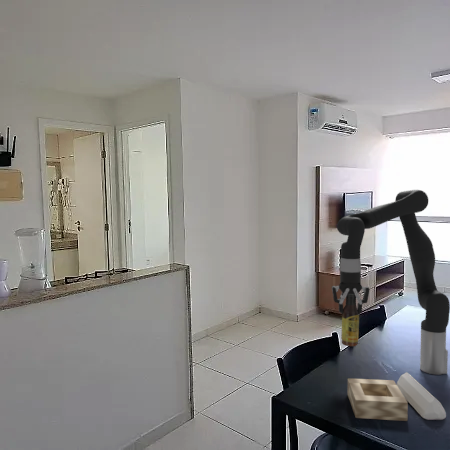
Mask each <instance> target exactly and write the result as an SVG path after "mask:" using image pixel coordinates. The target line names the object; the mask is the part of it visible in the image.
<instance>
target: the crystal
mask: <svg viewBox="0 0 450 450" xmlns="http://www.w3.org/2000/svg"><path fill="white" fill-rule="evenodd" d="M396 385H397V386H398V388H399V390H400V391H401V393H402V394H403V396H404V398H405V399H406V401H407V402H408V403H409V404H410V405H411V406H412V408H414V410H415V411H416V413H418V414H419V415H420V416H421V417H422V419H425V420H427V421H432V420H433V421H435V420H436V421H442V420H445V419H446V418H447V413H446V409H445V408H444V407H443V405H442V403H441V402H440V401H439V400H438V399H437V398H436V397H435V396H433V395H432V393H430V392H429V391H428V390H427V389H426V388H425V387H424V386H423V385H422V384H421V383H420V382H418V380H416V379H415V377H413V376H412V375H411V374H410V373H409V372H407V371H406V372H405V373H403V374H401V375H400V377H399V378H398V380H397V382H396Z"/></svg>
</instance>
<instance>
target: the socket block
mask: <svg viewBox="0 0 450 450" xmlns="http://www.w3.org/2000/svg"><path fill="white" fill-rule="evenodd" d="M347 398H348V399H349V403H350V405H351V408H352V411H353V414H354V416H355V418H356V419H366V420H367V419H368V420H369V419H371V420H385V421H386V420H387V421H398V422H399V421H400V422H401V421H403V422H408V417H409V416H408V414H409V412H408V409H409V408H408V405H409V404H408V403H409V402H408V401H407V400H406V399H405V398H404V396H403V394H402V393H401V391H400V390H399V388H398V386H397V382H395V380H394V379H388V380H387V379H371V378H370V379H367V378H347Z"/></svg>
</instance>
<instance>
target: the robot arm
mask: <svg viewBox="0 0 450 450" xmlns="http://www.w3.org/2000/svg"><path fill="white" fill-rule="evenodd" d="M428 205H429V197H428V194H427V193H426V192H425V191H424V190H420V189H411V190H404V191H399V192H398V193H397V194H396V197H395V200H394V201H392V202H388V203H384V204H381V205H377V206H374V207H371V208H369V209H366V210H364V211H362V212H358V213H353V214H349V215H345V216H343V217H341V219H339V220H338V221H337V225H336V229H337V231H338V233H339V234H341V235H343V236H347V240H346V241H345V242H342V243H341V246H340V262H339V263H340V264H339V265H340V266H339V270H340V271H339V284H338V285H332V286H331V291H332V298H333V301H334V303H336V304H338V312H339V313H340V314H341V315H342V314H343V308H344V304H343V303H344V302H345V300H346V297H348V294H355V296H356V306H357V310H358V314H359V315H361V313H362V312H363V305H364V304H367V303H368V302H369V301H368V299H369V294H370V288H369V286H367V285H366V286H363V285H362V276H361V275H362V262H361V261H362V260H361V246H362V243H363V239H364V236H365V232H366V231H365V230H369V229H373V228H375V227H377V226H380V225H382V224H384V223H387V222H390V221H392V220H394V219H397V218H399V220H400V223H401V226H402V229H403V233H404V237H405V241H406V246H407V249H408V254H409V259H410V262H411V266H412V267H411V268H412V271H413V275H414V278H415V284H416V290H417V291H416V293H417V300H418V304H419V306H420V307H421V308H422V309H423V310H425V318H424V319H422V320H421V322H420V349H419V351H420V356H419V357H420V358H419V359H420V360H419V365H420V366H419V369H420V370H421V371H422V372H424V373H426V374H429V375H437V376H441V375H445V374H447V375H448V358H449V357H448V355H449V354H448V353H449V351H448V349H447V328H448V325H449V321H450V300H449V297H448V296H447V295H446V294H444V293H443V292H440V291H438V289H437V288H438V287H437V286H436V285H437V284H436V282H435V279H434V278H435V277H434V271H435V267H436V254H435V250H434V246H433V242H432V240H431V239H430V237H429V235H428V234H427V233H426V232H425V230H424V229H423V228H422V227H421V225H420V224H419V221H418V220H417V216H416V213H417V214H418V213H421V212H423V211H424V210H426V209H427V207H428ZM339 290H340V292H341V294H340V296H339V298H338V295H337V292H338V291H339ZM361 291H362V292H363V295H362V296H363V297H362V299H361V296H360V295H359V293H360V292H361Z"/></svg>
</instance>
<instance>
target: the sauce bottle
mask: <svg viewBox="0 0 450 450" xmlns="http://www.w3.org/2000/svg"><path fill="white" fill-rule="evenodd" d="M359 328H360V314H358V310H357V299H356V296H355V294H348V297H346V298H345V305H344V306H343V314H341V344H342V345H343V346H347V347H356V346H358V345H359V334H360V331H359V330H360V329H359Z"/></svg>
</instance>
